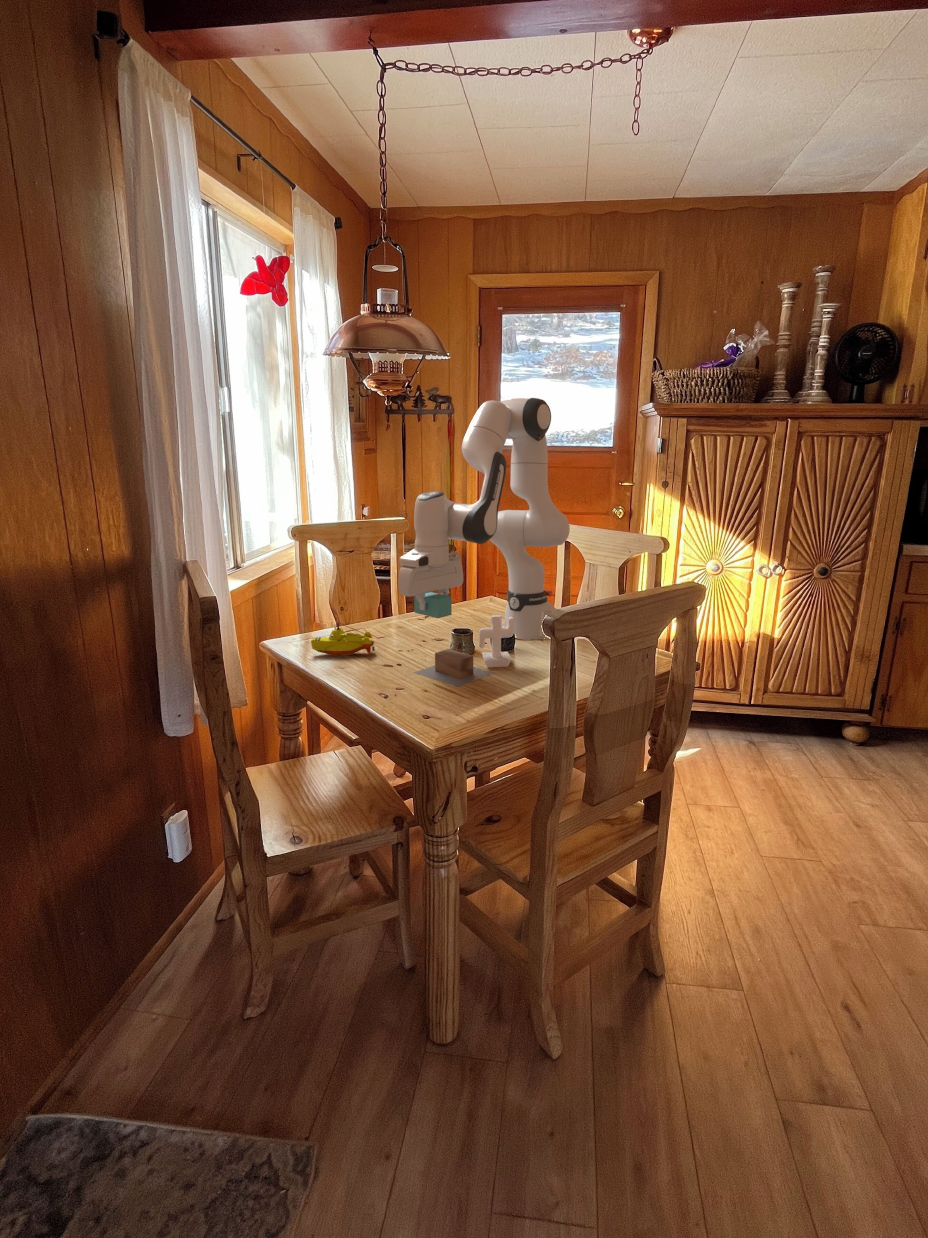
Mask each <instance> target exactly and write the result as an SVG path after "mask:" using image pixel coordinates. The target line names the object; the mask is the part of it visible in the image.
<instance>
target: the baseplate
mask: <svg viewBox="0 0 928 1238" xmlns="http://www.w3.org/2000/svg"><path fill="white" fill-rule="evenodd" d="M413 674H416V675H420V676H423V677H425V678H428V679H431V680H435V681H438V682H441V683H444V684H447V685H450V686H452V687H453V686H454V687H456V688H459V687H462V686H465V685H467V684H469V683H470V684H471V683H473V682H475V681H478V680H481V679H483V678H485V677H488V676H491V675H494V674H495V672H492V671H490V670H486V669H483V668H480V667H476V666H473V675H470V676H467V677H464V678H462V679H458V678H455V677H452V676H449V675H445V674H442V673H439V672H436V671H435V665H431V666H429V667H426V668H423V669H421V670H418V671H417V670H416V671H414V672H413Z"/></svg>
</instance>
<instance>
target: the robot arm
mask: <svg viewBox="0 0 928 1238" xmlns="http://www.w3.org/2000/svg"><path fill="white" fill-rule="evenodd" d="M551 423H552V411H551V408H550V407H549V404H548V403H547V402H546V401H545V400H544V399H541V398H538V397H530V398H525V397H523V398H521V397H520V398H518V397H517V398H511V399H505V400H500V401H498V400H495V399H494V400H493V399H492V400H487V401H484V402H483V403H482V404H481V405H480V406H479V407H478V409H477V410H476V412H475V414H474V415H473V417H472V419H471V421H470V424H468V427H467V430H466V432H465V435H464V437H463V438H462V439H463V440H462V443H461V452H462V456H463V458H464V460H465V461H466V462H467V464H468V465H469V466H470V467H472V468H473V469H475V470H476V471H478V472H480V473H481V474H484V476H483V477H484V478H483V483H482V487H481V492H480V497H479V499H478V500H477V502H475V503H471V504H470V503H459V502H455V501H452V500H450V499H448V497H446V496H447V495H446V493H445V492H443V491H439V490H437V491H435V490H434V491H427V492H423V493H421V494H419V495H418V496H416V500H415V503H414V510H413V511H414V513H413V525H414V526H413V528H414V532H415V540H414V548H413V549H411V550H410V551H408V552H407V553H404V554H403V555H402V556H400V557H399V560H398V561H399V565H400V566H401V567H400V569H399V571H398V592H399V593H400V595H402V596H404V597H409V598H411V597H414V596H415V595H416V599H417V600H418V602H419V608H420V610H426V609H428V603H425V601H424V597H425V593H429V592H433V593H435V592H438V591H439V593H440V594H442V595H447V596H449V594H450V589H452V588H457V587H461V586H462V584H463V583H464V571H463V565H462V557H461V555H460V554H459V553H458V552H457V551H453V552H450V547H449V546H450V545H449V540H454V541H461V542H462V541H463V542H469V543H473V544H479V545H483V544H486V543H487V542H489V541H490V542H491V543H492V544H493V545H495V546H496V547H497V548H498V550H499V551H500V553H502V555H503V558H504V559H505V561H506V565H507V572H508V573H507V575H508V576H507V577H508V589H507V592H506V593H507V594H506V599H507V600H506V601H507V604H506V606H505V612H504V623H503V625H501V627H507V626H508V618H509V617H513V618H514V633H515V634H516V636H517V639H518V640H550V639H549V638H547V637H545V635H544V634H543V632H542V628H541V625H542V621H543V619H544V617H545V615H547V614H550V613H551V612H552V611H553V610H555V609H557V608H556V607H555V606H554V605H553V604H551V602H550V601H548V597H552V596H553V590H552V589H547V588H546V589H545V567H544V565H543V563H542V562H541V561H540V560H539V559H537V558H535V557H533V556H532V555H531V554H529V553H528V551H527V548H528V547H533V548H534V547H535V548H536V547H537V548H552V547H557V546H562V545H563V544H564V543H565V542H566V541H567V540H568V538H569V535H570V532H571V531H570V529H571V526H570V523H569V520H568V518H567V516H566V515H565V514H564V513H563V512H562V511H560V510H559V509H558V507H556V505H555V504H554V502H553V500H552V498H551V495H550V492H549V486H548V485H549V484H548V467H549V466H548V465H549V464H548V463H549V460H548V458H549V457H548V455H549V454H548V452H549V451H548V443H547V436H546V434H547V432H548V431H549V428H550V426H551ZM507 440H512V448H511V456H510V478H509V479H510V483H509V484H510V485H509V486H510V489H511V491H512V493H513V494H514V495H515V496H516V497H518V498H520V499H522V500H525V501H526V502H527V504H528V506H529V507H528V508H529V509H524V510H522V509H516V510H515V509H505V510H504V509H503V510H499V508H500V504H501V498H502V494H503V489H504V484H505V480H506V475H507V459H506V457H505V456H504V454H503V451H504V447H505V444H506V441H507ZM544 638H545V639H544Z"/></svg>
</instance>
